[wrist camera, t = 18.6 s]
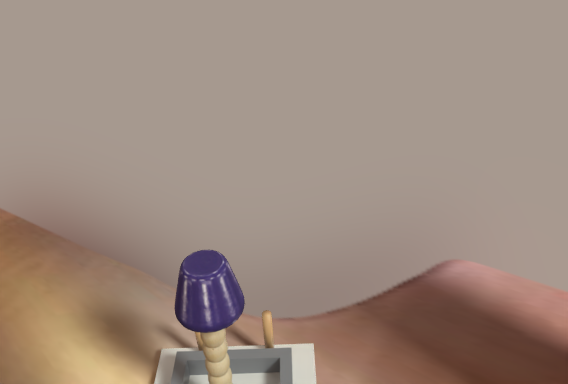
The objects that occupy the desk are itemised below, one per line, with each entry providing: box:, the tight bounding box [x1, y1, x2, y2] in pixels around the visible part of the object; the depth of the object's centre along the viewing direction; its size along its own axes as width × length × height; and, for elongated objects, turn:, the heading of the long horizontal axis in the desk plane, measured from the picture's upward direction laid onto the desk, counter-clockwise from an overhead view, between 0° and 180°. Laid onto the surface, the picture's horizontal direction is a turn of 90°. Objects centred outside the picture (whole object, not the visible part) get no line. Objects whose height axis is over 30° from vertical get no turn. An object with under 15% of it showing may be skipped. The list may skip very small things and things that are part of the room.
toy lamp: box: [175, 250, 244, 384], centre depth 38 cm, size 5×5×17 cm
